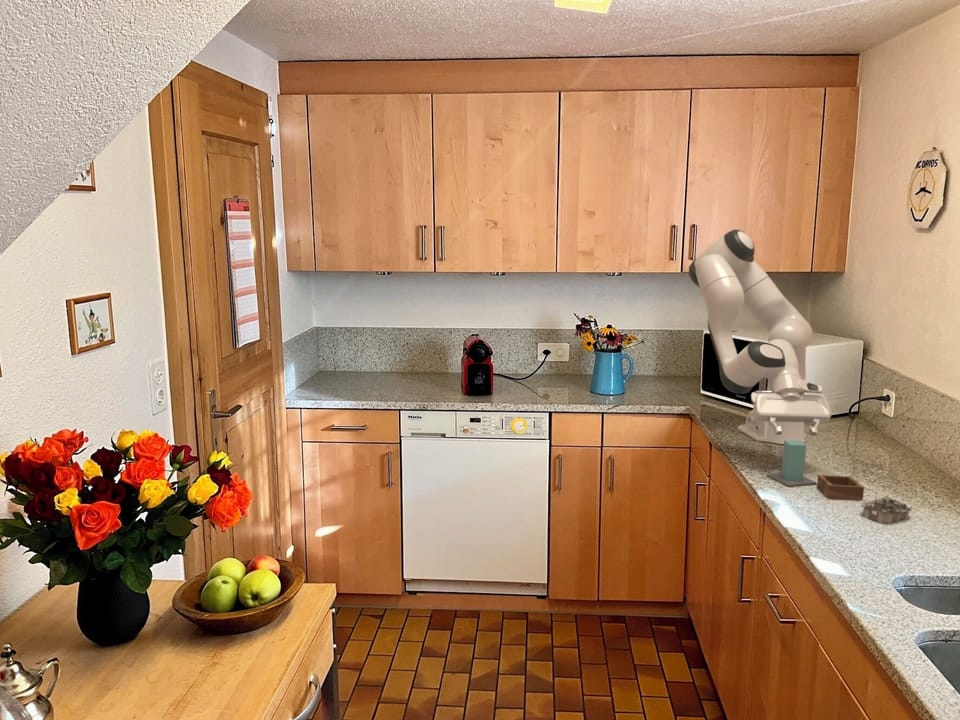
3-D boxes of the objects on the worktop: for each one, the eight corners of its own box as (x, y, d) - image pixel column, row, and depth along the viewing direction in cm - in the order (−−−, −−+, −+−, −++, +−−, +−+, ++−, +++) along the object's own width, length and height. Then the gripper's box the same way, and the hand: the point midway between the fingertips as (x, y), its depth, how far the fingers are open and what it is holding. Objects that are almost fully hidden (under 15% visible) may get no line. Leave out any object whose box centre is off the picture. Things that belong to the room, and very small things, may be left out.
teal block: (781, 475, 210) (784, 440, 208) (797, 476, 209) (801, 440, 207) (785, 480, 205) (789, 444, 203) (802, 481, 205) (806, 445, 203)
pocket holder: (816, 487, 202) (818, 474, 202) (849, 489, 201) (851, 476, 201) (828, 498, 194) (829, 485, 193) (862, 500, 193) (864, 487, 193)
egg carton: (884, 526, 177) (886, 510, 177) (856, 515, 184) (858, 499, 183) (914, 519, 182) (916, 503, 181) (885, 508, 189) (887, 493, 188)
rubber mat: (766, 476, 210) (766, 474, 210) (793, 473, 213) (793, 471, 213) (788, 487, 202) (789, 485, 202) (816, 484, 205) (816, 482, 204)
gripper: (752, 384, 214) (760, 427, 206) (827, 386, 213) (838, 429, 205) (747, 396, 219) (754, 438, 211) (820, 398, 218) (830, 441, 210)
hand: (796, 434), depth 208 cm, fingers open, 8 cm apart
